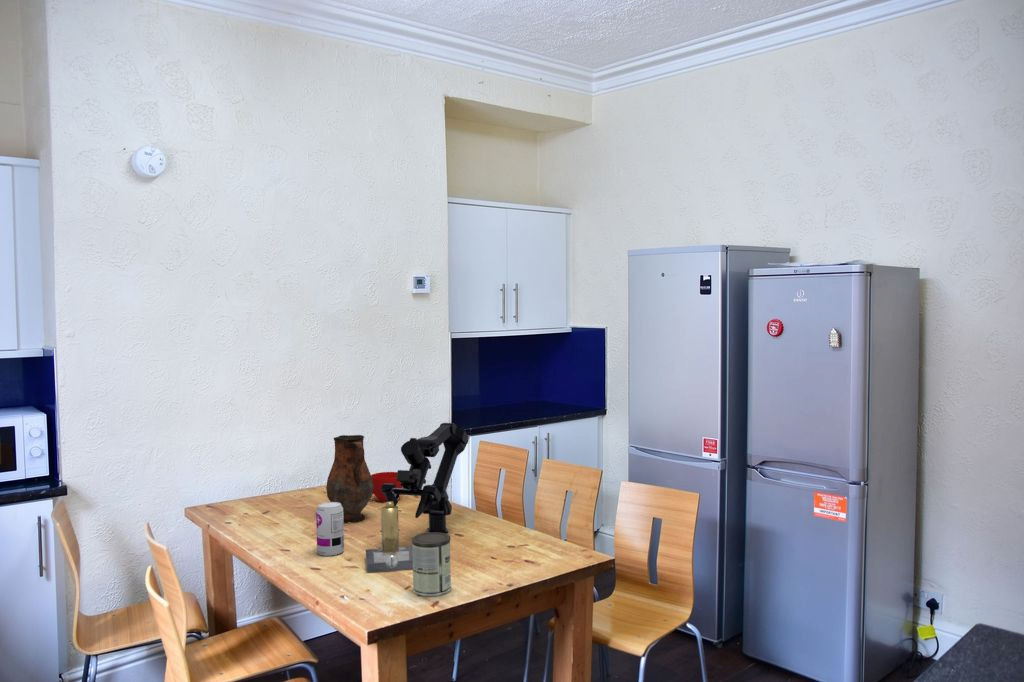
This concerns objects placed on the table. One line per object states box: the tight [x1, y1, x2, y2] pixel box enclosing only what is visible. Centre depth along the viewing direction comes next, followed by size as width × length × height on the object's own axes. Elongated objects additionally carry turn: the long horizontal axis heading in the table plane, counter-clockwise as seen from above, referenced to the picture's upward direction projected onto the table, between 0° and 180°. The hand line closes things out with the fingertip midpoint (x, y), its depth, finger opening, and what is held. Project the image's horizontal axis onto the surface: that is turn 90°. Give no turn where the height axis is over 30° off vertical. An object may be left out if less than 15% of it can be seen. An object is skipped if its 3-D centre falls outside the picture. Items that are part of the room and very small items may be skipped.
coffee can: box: [411, 532, 452, 597], centre depth 208 cm, size 10×10×14 cm
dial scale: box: [365, 545, 413, 573], centre depth 231 cm, size 14×14×4 cm
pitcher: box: [325, 434, 373, 523], centre depth 279 cm, size 17×21×30 cm
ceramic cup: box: [371, 471, 403, 503], centre depth 308 cm, size 13×17×10 cm
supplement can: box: [315, 501, 345, 557], centre depth 242 cm, size 8×8×15 cm
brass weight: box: [380, 501, 400, 553], centre depth 232 cm, size 5×5×15 cm
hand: (402, 516), depth 239 cm, fingers open, 9 cm apart
